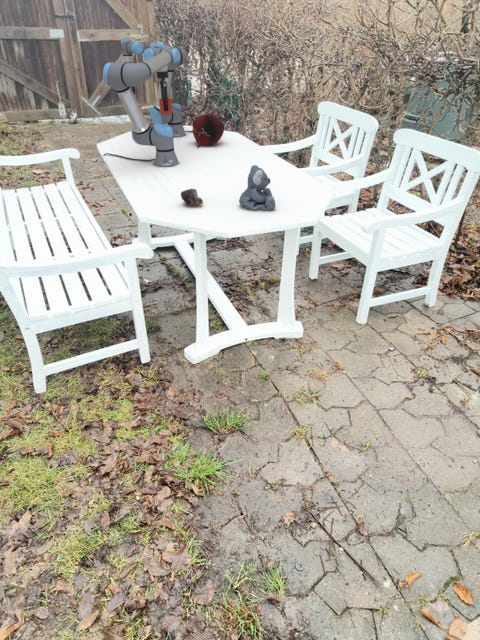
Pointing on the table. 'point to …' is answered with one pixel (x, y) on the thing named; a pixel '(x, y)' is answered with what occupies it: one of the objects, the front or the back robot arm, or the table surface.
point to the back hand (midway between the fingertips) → (132, 92)
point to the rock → (191, 197)
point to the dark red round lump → (207, 129)
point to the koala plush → (257, 191)
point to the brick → (161, 105)
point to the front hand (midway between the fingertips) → (165, 110)
